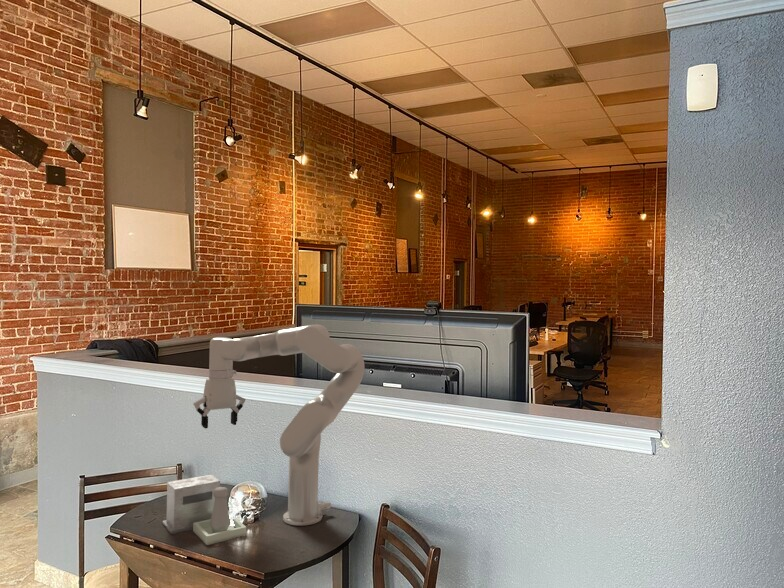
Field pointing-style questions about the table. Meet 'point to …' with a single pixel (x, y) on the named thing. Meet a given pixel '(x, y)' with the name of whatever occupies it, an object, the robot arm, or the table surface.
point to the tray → (210, 537)
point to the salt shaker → (220, 511)
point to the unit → (189, 502)
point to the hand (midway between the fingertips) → (219, 425)
